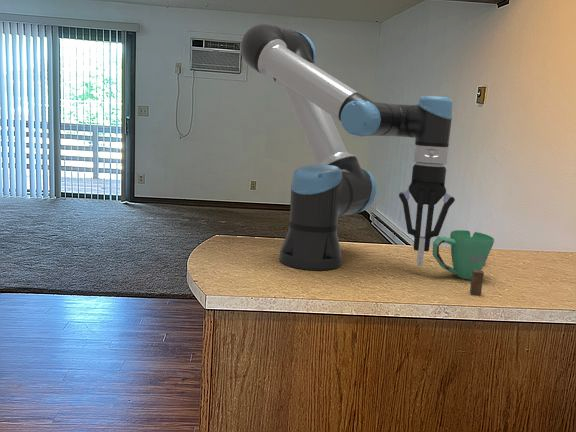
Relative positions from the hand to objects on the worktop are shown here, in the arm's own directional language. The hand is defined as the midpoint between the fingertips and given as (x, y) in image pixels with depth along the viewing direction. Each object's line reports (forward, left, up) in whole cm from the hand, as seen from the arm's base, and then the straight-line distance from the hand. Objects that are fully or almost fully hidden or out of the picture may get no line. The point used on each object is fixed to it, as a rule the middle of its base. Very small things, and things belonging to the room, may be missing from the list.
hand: (419, 264), depth 133 cm
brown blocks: (+15, -1, -2) cm, 15 cm away
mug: (+9, +1, -2) cm, 9 cm away
